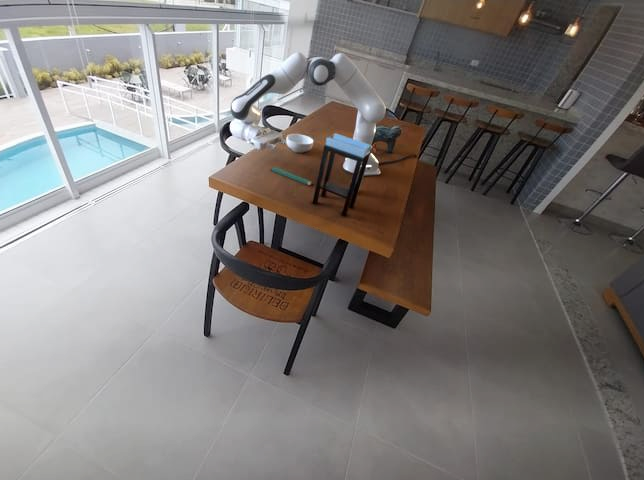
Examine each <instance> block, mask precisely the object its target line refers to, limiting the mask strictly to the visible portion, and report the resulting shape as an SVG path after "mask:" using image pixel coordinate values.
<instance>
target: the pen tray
mask: <svg viewBox="0 0 644 480" xmlns="http://www.w3.org/2000/svg"><path fill="white" fill-rule="evenodd" d="M325 140H326V141H325V145H328V146H331V147H333V148H336V149H339V150H342V151H345V152H348V153H351V154H354V155H356V156H359V157H362V158H364V157H365V156H366V155H367V154H368V153H370V150H371V146H372V147H373V145H369V144H366V143H363V142H360V141H357V140H354V139H353V138H351V137H348V136H345V135H342V134H339V133H336V132H335V133H333V138H332V137H329V136H327V137H326V139H325Z"/></svg>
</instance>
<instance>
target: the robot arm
mask: <svg viewBox="0 0 644 480" xmlns="http://www.w3.org/2000/svg"><path fill="white" fill-rule="evenodd" d="M304 79H308V80H309V81H310V82H311V84H313V85H314V86H318V87H321V86H325V85H327V84H328V83H329V82H330V81H332V80H333V81H334V82H335V83H336V84H337V85H338V86H339V88H340V89H341V90H342V91H343V93H344V94H345V95H346V96H347V97H348V99H349V100H350V101H351V102H352V104H353V105H354V106H355V108H356V109H357V113H356V122H355V127H354V132H353V136H352V139H354V140H357V141H360V142H363V143H366V144H369V145H372V141H373V138H374V135H375V128H376V127H377V126H376V125H377V123H378V124H379V123H380V122H381V121H383V119H384V117H385V116H386V112H387V111H386V104H385V102H384V100H383V99H382V98H381V97H380V96H379V94H378V93H377V92H376V90H375V89H374V87H372V85H371V84H370V82H369V81H368V80H367V78H365V76H364V74H363V73H362V72H361V70H360V69H359V68H358V66H356V64H355V63H354V62H353V61H352V60H351V59H350V58H349V57H348V56H347V55H346V54H344V53H343V52H339V53H336V54H335V55H333V56H332V58H331V59H326V58H325V57H322V56H320V55H315V56H311V57H306V55H304V54H303V53H302V52H300V51H296V52H294V53H292V54H291V55H290V56H288V57H287V58H286V59H285V60H284V61H283V62H281V64H280V65H279V66H278V67H276V69H274V70H273V71H272V72H270V73H269V74H266V75H264V76H263V77H261V78H260V79H259V80H257V82H255V83H254V84H253V85H252V86H250V87H249V88H248V89H247V90H246V91H245V92H243V93H242V94H239V95H237V96H236V97H235V98H233V100H232V101H231V103H230V113H231V115H232V117H233V118H234V119H233V120H231V121H230V124H229V131H230V133H231V135H232V136H233V137H234V138H236V139H238V140H240V141H243V142H247V144H248V145H249V144H250V146H251V147H252V148H255V149H256V150H259V151H263V150H264V149H272V150H276V148H277V144H278V143H280V144H281V145H287V143H286V140H285V139H284V138H283V134H282V133H281V132H279V131H277V130H275V129H271V128H270V127H269V126H259V124H260V123H261V119H262V112H261V109H260V108H259V107H258V106H256V105H255V104H256V103H257V102H258V101H259V100H261V98H263V97H265V96H266V95H267V94H278V95H286V94H288V93H289V92H291V90H293V89H294V87H296V86H297V85H298V84H299V83H300V81H302V80H304ZM370 152H371V153H370V156H369V159H368V162H367V166H366V169H365V173H364V176H379V175H381V170H380V168H379V165H383V164H391V163H395V162H398V161H401V160H404V159H406V158H411V157H415V158H417V157H418V155H417V154H415V153H413V154H408V155H404V156H402V157H399V158H397V159H393V160H388V161H382V162H379V161H378V159H377V158H376V156H375V155H374V154H376V152H377V150H376V148H374V146H373V145H372V146H371V150H370ZM356 162H357V161H355V160H352V159H349V158H347V157H345V160H344V162H343V164H342V168H343V169H344V170H345V171H347V172H349V173H352V174H353V172H354V169H355V166H356ZM362 162H363V161H362ZM361 165H362V164H361ZM364 176H363V177H364Z"/></svg>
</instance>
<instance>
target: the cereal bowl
mask: <svg viewBox="0 0 644 480" xmlns="http://www.w3.org/2000/svg"><path fill="white" fill-rule="evenodd" d="M285 139H286V146H287V147H288V148H289V149H291V150H292V151H293V152H295V153H299V154H300V153H304V152H308V151H311V149H312V148H313V146H314V139H313V138H312V137H310V136H308V135H304V134H300V133H290V134H287V136H286V138H285Z"/></svg>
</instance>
